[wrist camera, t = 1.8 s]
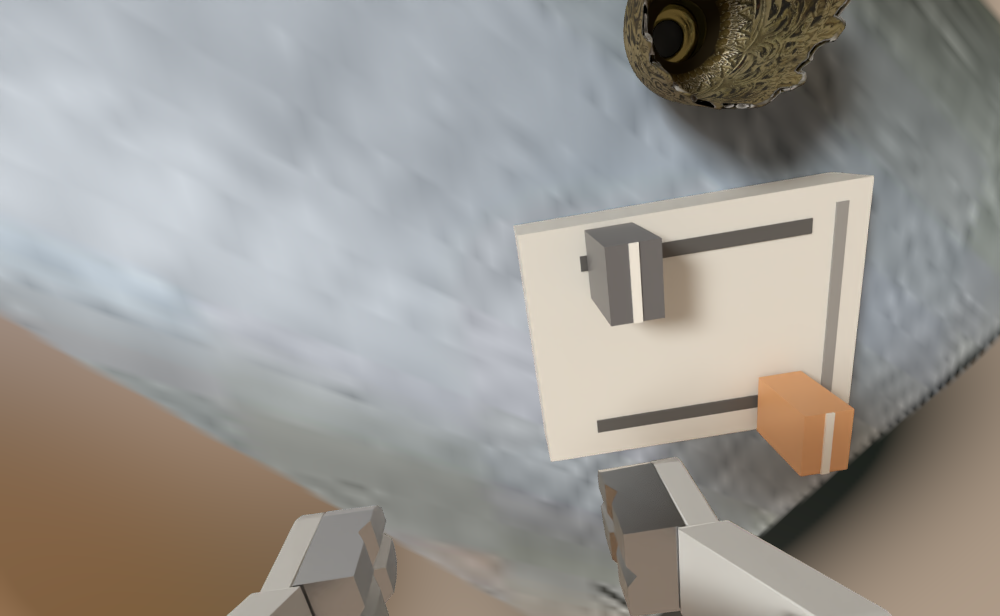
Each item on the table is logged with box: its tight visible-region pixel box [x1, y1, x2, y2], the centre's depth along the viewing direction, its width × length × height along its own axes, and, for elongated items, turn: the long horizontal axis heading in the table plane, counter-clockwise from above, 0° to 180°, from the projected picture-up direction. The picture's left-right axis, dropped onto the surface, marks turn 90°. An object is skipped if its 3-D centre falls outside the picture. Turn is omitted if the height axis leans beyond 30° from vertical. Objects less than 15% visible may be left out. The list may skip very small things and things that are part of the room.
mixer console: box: [514, 172, 874, 462], centre depth 27 cm, size 14×18×3 cm
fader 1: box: [584, 222, 665, 326], centre depth 22 cm, size 4×2×4 cm, turn 9°
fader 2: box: [757, 371, 854, 476], centre depth 25 cm, size 4×2×4 cm, turn 9°
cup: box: [623, 0, 851, 110], centre depth 20 cm, size 8×7×8 cm
